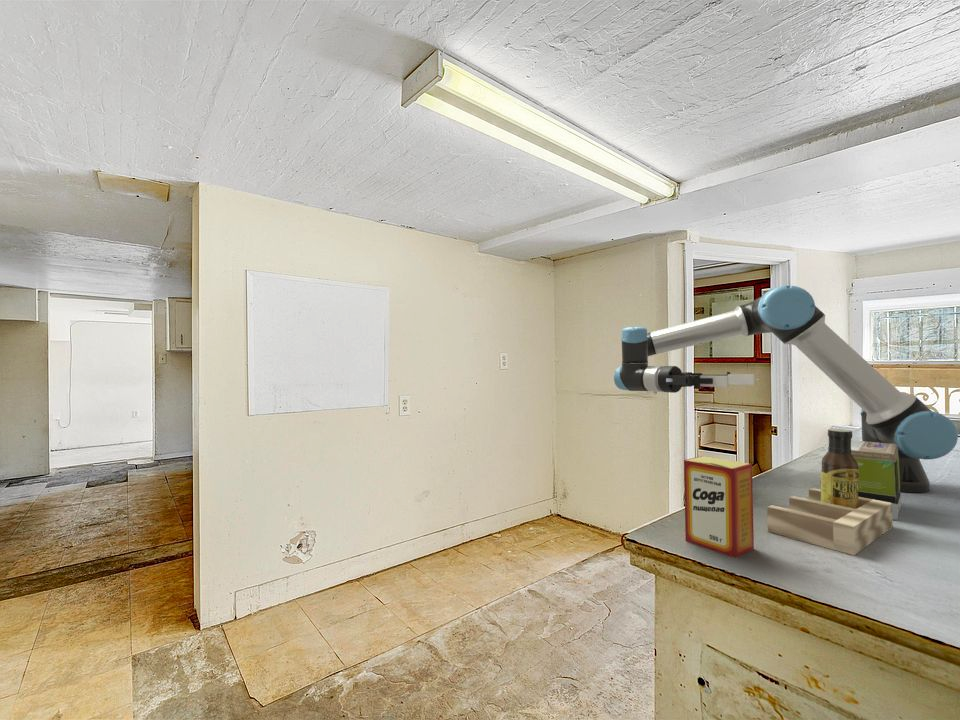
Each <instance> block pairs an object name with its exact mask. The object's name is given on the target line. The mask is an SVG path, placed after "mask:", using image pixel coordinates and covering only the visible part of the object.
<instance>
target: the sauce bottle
mask: <svg viewBox="0 0 960 720" xmlns="http://www.w3.org/2000/svg"><path fill="white" fill-rule="evenodd" d="M827 436H828V447H827V449H828V450H827V452H826V453H825V455H824V456H823V457H822V460H821V471H820V490H821V502H825V503H829V504H834V505H839V506H844V507H849V508H854V509H857V508H858V493H859V492H858V483H859V471H858V464H857V462H856V460H855V459H854V457H853V456H852V454H851V441H852V438H853V431H852V430H848V429H843V428H829V429H827Z"/></svg>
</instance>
